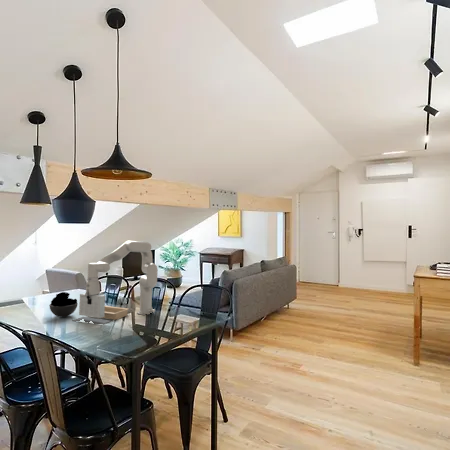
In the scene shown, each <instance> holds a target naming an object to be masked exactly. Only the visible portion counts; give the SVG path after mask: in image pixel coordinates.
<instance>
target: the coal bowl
mask: <svg viewBox="0 0 450 450" xmlns="http://www.w3.org/2000/svg"><path fill="white" fill-rule="evenodd" d="M70 295H71V294H70V293H69V292H66V291H62V292H60V293H59V292H58V293H56V295H55V297H53V298H52V300H50V304H49V310H50V312H51V313H52V314H53V315H54V316H56V317H58V318H65V317H69V316H71V315H72V314H73V313H74V312H75V311H76V309H77V308H78V305H79V304H78V299H77V298H74V299H73V298H70Z"/></svg>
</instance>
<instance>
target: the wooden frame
mask: <svg viewBox="0 0 450 450" xmlns="http://www.w3.org/2000/svg"><path fill="white" fill-rule="evenodd" d="M128 311H129V308H127V307H119V306H110V305H105V313H104V317H101V318H100V319H105V320H107V319H108V320H114V321H115V320H119V319H121V318H124V317H127V316H128Z"/></svg>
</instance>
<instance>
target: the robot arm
mask: <svg viewBox="0 0 450 450" xmlns="http://www.w3.org/2000/svg"><path fill="white" fill-rule="evenodd" d="M130 252H132V253H140V254H141V271H142V273H143V274H144V275H141V277H140V278H139V291H140V292H139V310H138V311H137V314H139V315H142V316H143V315H145V314H147V315H151V314H150V313H152V312H153V313H156V312H155V311H156V309H155V308H154V309H153V306H152V303H153V301H152V297H153V295H152V294H153V290H152V289H153V288H155V287H156V286H157V285H158V266H157V264H155V263H154V262H153V252H152V245H151V243H149V242H147V241H135V240H126V241H125V242H124V243H122V244H121V245H120V246H119V247H118V248H116V249H115V250H113V251H112V252H110V253H108V254H106V255H105V256H104V257H103V258H101V259H100V260H98V262H89V263H88V264H87V281H86V288H85V296H86V298H87V299H88V301H87V304H91V300H92V299H91V296H92V295H95V294H96V295H100V293H101V288H100V280H99V273H107V272H109V270H111V266H110V265H111V264H113V263H115V262H118V261H121V260H123V258H125V257H126V256H127V255H128V254H129V253H130ZM89 296H90V297H89ZM153 313H152V314H153Z"/></svg>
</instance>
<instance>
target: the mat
mask: <svg viewBox="0 0 450 450" xmlns="http://www.w3.org/2000/svg"><path fill="white" fill-rule="evenodd" d="M82 319H84V321H85V322H88V323H87V324H89V322H90V321H92V322H93V323H94V324H93V325H96V324H103V325H106V324H108V323H111V322H112V320H111V319H108V320H107V319H104V318H96V317H90V316H81V317H79V318H75V319H72V322H76V321H80V320H82ZM105 323H106V324H105Z"/></svg>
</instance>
